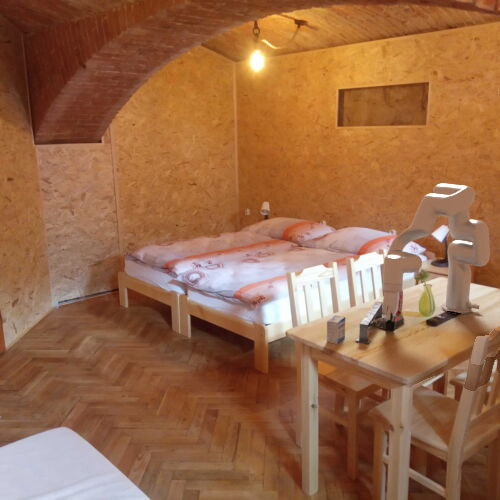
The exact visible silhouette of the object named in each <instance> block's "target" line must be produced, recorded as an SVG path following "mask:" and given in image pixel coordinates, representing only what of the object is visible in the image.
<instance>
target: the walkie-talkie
mask: <svg viewBox="0 0 500 500" xmlns="http://www.w3.org/2000/svg"><path fill="white" fill-rule="evenodd" d="M394 321H395V328H394V329H396V328H398V327H400V326H401V325H404V323H405V322H404V321H405V319H404V316H403V315H400V314H398V315H395V320H394ZM373 326H375V327H377V328H382V329H384V330H386V316H385V317H384V318H378V319H377V318H374V320H373V321H372V323H371V324H370V326H369V327H368V329H369V328H371V327H373Z"/></svg>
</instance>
